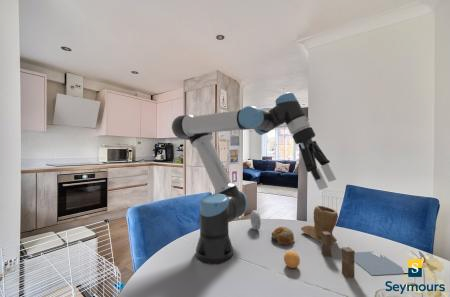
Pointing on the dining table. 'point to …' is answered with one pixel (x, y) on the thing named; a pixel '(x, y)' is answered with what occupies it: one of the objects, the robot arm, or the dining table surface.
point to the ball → (291, 259)
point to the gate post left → (327, 244)
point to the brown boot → (322, 223)
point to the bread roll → (283, 236)
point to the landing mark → (377, 264)
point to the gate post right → (348, 262)
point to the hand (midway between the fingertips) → (328, 184)
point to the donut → (255, 220)
